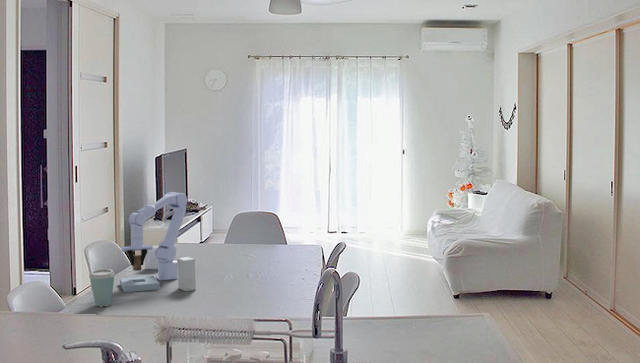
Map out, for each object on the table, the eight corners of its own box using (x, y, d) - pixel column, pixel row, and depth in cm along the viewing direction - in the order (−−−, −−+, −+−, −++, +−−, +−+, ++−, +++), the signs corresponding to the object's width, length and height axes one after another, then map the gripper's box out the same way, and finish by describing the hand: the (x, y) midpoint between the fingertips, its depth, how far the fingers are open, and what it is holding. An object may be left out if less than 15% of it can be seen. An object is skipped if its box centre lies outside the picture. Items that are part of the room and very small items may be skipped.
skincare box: (196, 290, 320) (195, 259, 319) (183, 291, 317) (183, 260, 315) (189, 286, 327) (189, 256, 326) (177, 288, 324) (177, 257, 322)
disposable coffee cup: (112, 308, 287) (111, 273, 286) (86, 308, 286) (85, 273, 285) (117, 301, 298) (117, 268, 296) (92, 301, 297) (92, 268, 295)
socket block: (153, 281, 335) (153, 275, 335) (159, 289, 321) (159, 283, 320) (119, 284, 329) (119, 278, 328) (124, 292, 314) (124, 285, 314)
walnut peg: (140, 268, 332) (140, 254, 331) (142, 270, 328) (141, 256, 327) (132, 269, 330) (132, 255, 330) (133, 270, 326) (133, 256, 326)
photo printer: (164, 267, 367) (164, 245, 366) (164, 269, 363) (163, 246, 362) (145, 268, 365) (145, 245, 364) (144, 269, 361) (144, 247, 360)
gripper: (150, 235, 334) (151, 262, 335) (120, 236, 328) (120, 264, 329) (153, 237, 328) (153, 265, 329) (122, 239, 322) (122, 267, 323)
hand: (137, 265), depth 329 cm, fingers closed on walnut peg, 4 cm apart
